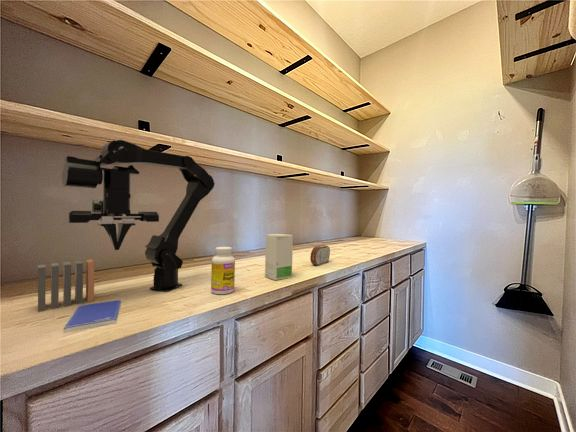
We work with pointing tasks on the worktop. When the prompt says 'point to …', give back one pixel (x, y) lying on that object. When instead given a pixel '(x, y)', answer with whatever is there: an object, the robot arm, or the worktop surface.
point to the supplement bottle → (223, 271)
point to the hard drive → (93, 316)
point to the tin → (320, 255)
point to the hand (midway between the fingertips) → (116, 249)
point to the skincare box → (278, 256)
